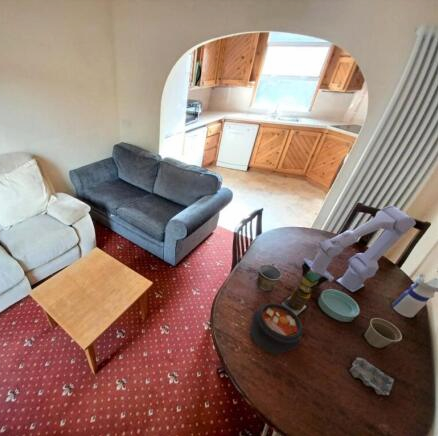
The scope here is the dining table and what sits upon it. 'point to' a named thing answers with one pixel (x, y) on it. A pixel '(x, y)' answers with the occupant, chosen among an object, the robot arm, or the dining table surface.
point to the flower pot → (382, 333)
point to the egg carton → (372, 376)
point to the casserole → (276, 328)
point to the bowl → (338, 305)
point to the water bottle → (415, 296)
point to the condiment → (298, 299)
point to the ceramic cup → (268, 276)
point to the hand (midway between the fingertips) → (310, 280)
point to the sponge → (310, 279)
